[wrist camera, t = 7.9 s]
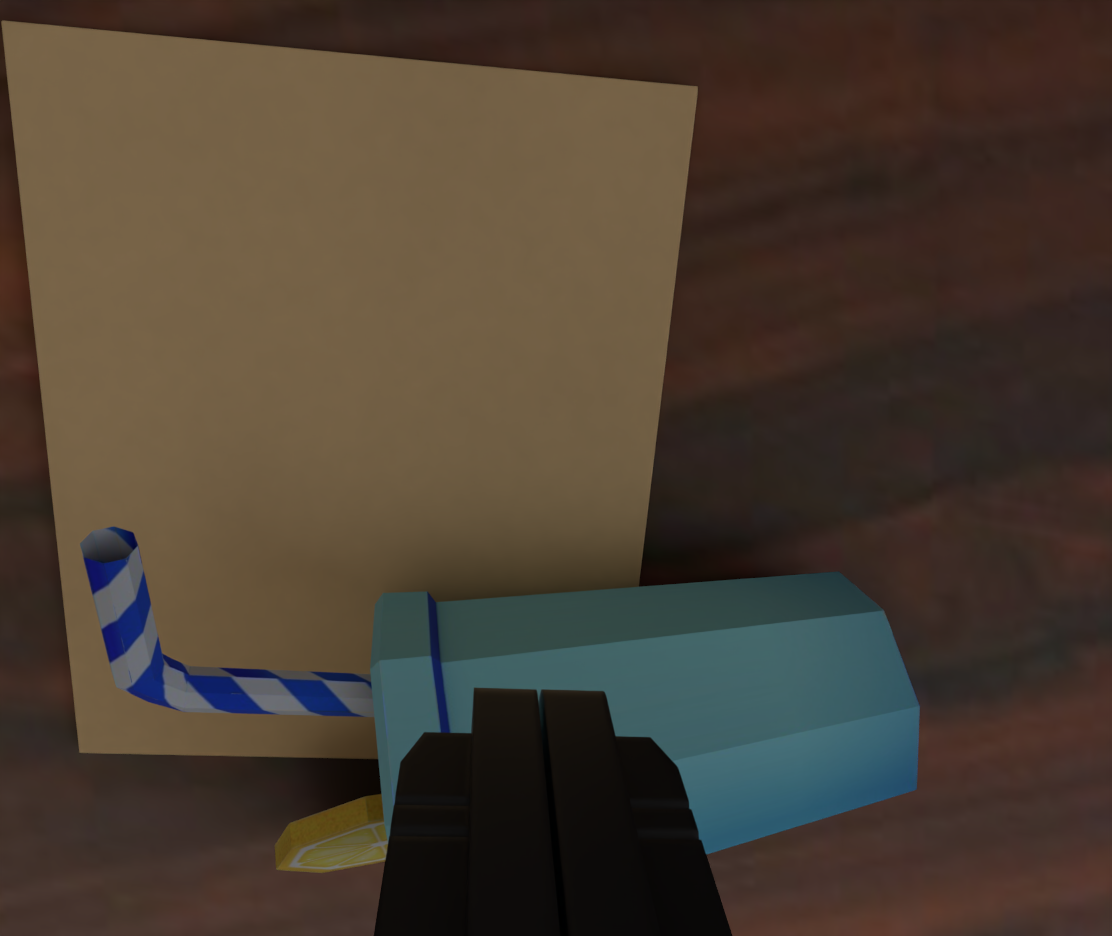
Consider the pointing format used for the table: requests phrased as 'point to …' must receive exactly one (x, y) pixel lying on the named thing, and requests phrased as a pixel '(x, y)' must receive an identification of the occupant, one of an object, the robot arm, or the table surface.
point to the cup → (584, 664)
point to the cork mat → (335, 345)
